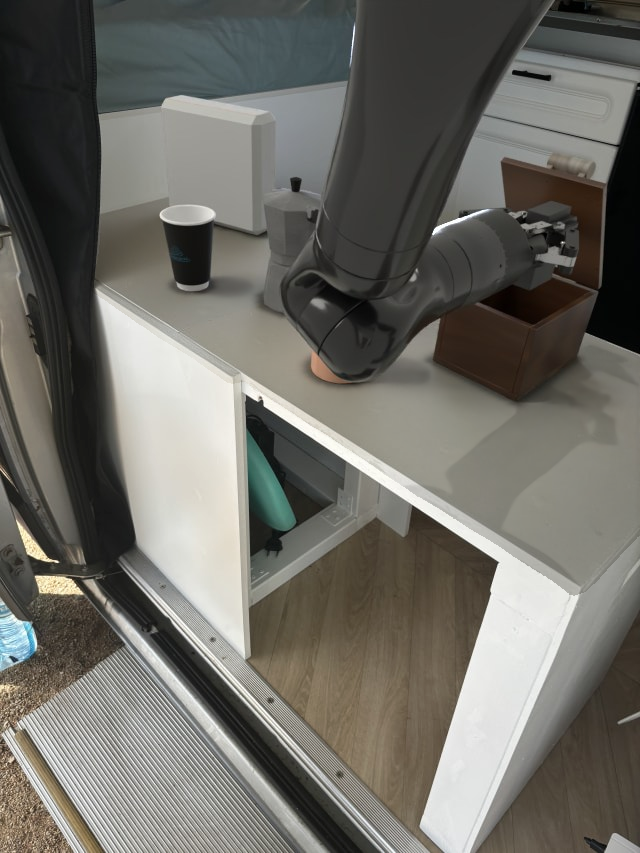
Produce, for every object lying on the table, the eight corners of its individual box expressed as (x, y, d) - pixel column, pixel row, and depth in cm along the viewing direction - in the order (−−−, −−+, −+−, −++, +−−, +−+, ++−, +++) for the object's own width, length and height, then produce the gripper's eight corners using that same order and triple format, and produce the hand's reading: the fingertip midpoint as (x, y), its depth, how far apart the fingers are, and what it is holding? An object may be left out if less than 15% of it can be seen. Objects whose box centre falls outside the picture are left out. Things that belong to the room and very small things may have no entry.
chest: (516, 401, 79) (536, 329, 73) (432, 360, 86) (444, 291, 80) (576, 358, 88) (598, 291, 82) (496, 324, 95) (512, 260, 89)
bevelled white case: (281, 226, 122) (283, 110, 110) (257, 239, 117) (256, 118, 105) (193, 203, 130) (185, 92, 118) (166, 213, 125) (155, 98, 113)
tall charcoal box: (552, 278, 72) (573, 205, 67) (529, 291, 69) (549, 215, 64) (533, 271, 73) (552, 199, 69) (509, 283, 70) (527, 209, 66)
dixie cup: (219, 274, 104) (216, 204, 97) (218, 296, 98) (214, 223, 91) (168, 273, 103) (162, 203, 97) (164, 295, 97) (156, 222, 90)
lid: (603, 188, 69) (630, 154, 70) (500, 160, 75) (526, 130, 76) (598, 290, 82) (620, 260, 83) (511, 259, 89) (533, 232, 90)
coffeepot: (245, 288, 100) (243, 167, 89) (299, 278, 104) (303, 160, 93) (291, 333, 90) (295, 201, 79) (349, 320, 94) (360, 193, 83)
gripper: (547, 244, 53) (634, 202, 63) (411, 199, 61) (509, 168, 71) (525, 326, 58) (609, 275, 68) (401, 275, 65) (494, 236, 75)
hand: (558, 221), depth 69 cm, fingers closed on tall charcoal box, 2 cm apart
